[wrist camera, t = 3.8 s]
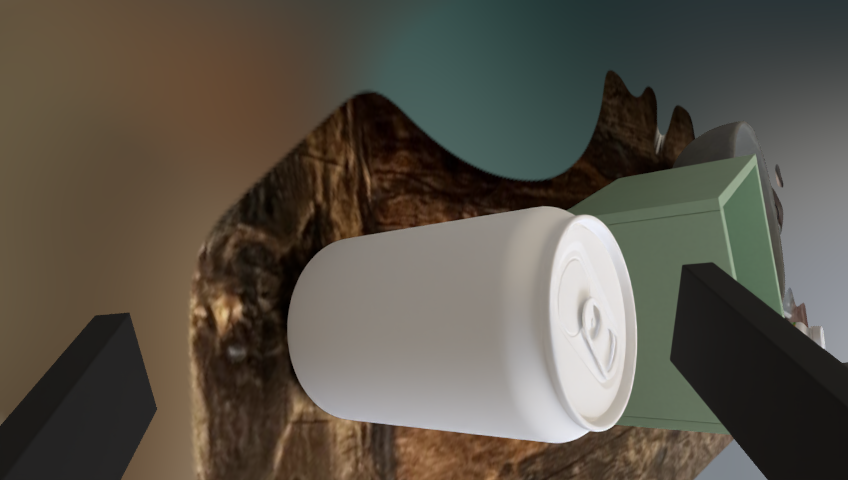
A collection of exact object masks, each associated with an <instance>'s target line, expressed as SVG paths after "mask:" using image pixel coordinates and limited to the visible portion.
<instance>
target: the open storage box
mask: <svg viewBox="0 0 848 480" xmlns="http://www.w3.org/2000/svg"><path fill="white" fill-rule="evenodd" d="M567 212H570V213H571V214H573V215H575V216H577V215H591V216H594V217H596V218H597V219H599V220H600V221H601V222H603V223H604V224H605V226H606V227H607V228H608V229H609V230H610V232H611V233H612V235H613V236H614V238H615V240H616V242H617V244H618V246H619V248H620V250H621V253H622V255H623V258H624V260H625V263H626V267H627V270H628V273H629V277H630V281H631V286H632V291H633V296H634V303H635V311H636V322H637V358H636V368H635V375H634V381H633V386H632V390H631V394H630V397H629V400H628V403H627V405H626V408H625V410H624V412H623V414H622V415H621V417H620V418H619V420H618V421H617V422H616V423H615V425H626V426H638V427H650V428H661V429H673V430H684V431H696V432H707V433H719V434H730V433H729V432H728V431H727V429H726V428H725V427H724V426H723V424H722V423H721V422H720V421H719V420H718V418H717V417H716V416H715V415H714V413H713V412H712V411H711V410H710V409H709V407H708V406H707V405H706V404H705V403H704V401H703V400H702V399H701V398H700V396H699V395H698V394H697V393H696V392H695V390H694V389H693V388H692V387H691V385H690V384H689V383H688V382H687V381H686V379H685V378H684V377H683V376H682V374H681V373H680V372H679V371H678V370H677V368H676V367H675V366H674V365H673V363H672V362H671V361H670V354H671V346H672V339H673V331H674V324H675V316H676V308H677V301H678V293H679V286H680V278H681V270H682V265H685V264H697V263H708V262H713V263H715V264H716V265H717V266H718V267H720V268H721V269H722V270H723V271H725V272H726V273H727V274H729V275H730V276H731V277H732V278H734V279H735V280H736V281H738V282H739V283H740V284H741V285H743V286H744V287H745V288H747V289H748V290H749V291H750V292H752V293H753V294H754V295H755V296H757V297H758V298H759V299H761V300H762V301H763V302H764V303H766V304H767V305H768V306H770V307H771V308H772V309H773V310H775V311H776V312H777V313H779V314H780V315H781V316H782V317H784V311H783V306H782V300H781V294H780V289H779V283H778V277H777V272H776V266H775V260H774V255H773V249H772V243H771V238H770V232H769V226H768V221H767V215H766V209H765V204H764V198H763V192H762V187H761V181H760V175H759V170H758V164H757V158H756V154H752V155H746V156H740V157H735V158H729V159H724V160H718V161H713V162H707V163H702V164H696V165H690V166H685V167H679V168H674V169H668V170H663V171H657V172H652V173H646V174H640V175H635V176H629V177H624V178H619V179H617V180H615V181H614V182H612V183H610V184H609V185H607V186H606V187H604V188H602V189H601V190H599V191H597V192H596V193H594V194H593V195H591V196H589V197H588V198H586V199H584V200H583V201H581V202H580V203H578V204H576V205H575V206H573V207H571V208H570V209H568V210H567ZM784 318H785V317H784ZM730 435H731V434H730Z"/></svg>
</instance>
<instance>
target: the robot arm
mask: <svg viewBox="0 0 848 480" xmlns="http://www.w3.org/2000/svg"><path fill="white" fill-rule="evenodd" d="M670 361H671V362H672V363H673V365H674V366H675V367H676V368H677V370H678V371H679V372H680V373H681V374H682V376H683V377H684V378H685V379H686V381H687V382H688V383H689V384H690V385H691V387H692V388H693V389H694V390H695V392H696V393H697V394H698V395H699V396H700V398H701V399H702V400H703V401H704V403H705V404H706V405H707V406H708V407H709V409H710V410H711V411H712V412H713V413H714V415H715V416H716V417H717V418H718V420H719V421H720V422H721V423H722V424H723V426H724V427H725V428H726V429H727V431H728V432H729V433H730V434H731V435H732V437H733V438H734V439H735V440H736V442H737V443H738V444H739V445H740V446H741V448H742V449H743V450H744V451H745V453H746V454H747V455H748V456H749V457H750V459H751V460H752V461H753V462H754V464H755V465H756V466H757V467H758V468H759V470H760V471H761V472H762V473H763V474H764V476H765V477H766V478H767V479H768V480H848V363H841V362H840V361H839V360H837V359H836V358H835V357H834V356H832V355H831V354H830V353H828V352H827V351H826V350H825V349H823V348H822V347H821V346H819V345H818V344H817V343H816V342H814V341H813V340H812V339H811V338H809V337H808V336H807V335H805V334H804V333H803V332H802V331H800V330H799V329H798V328H796V327H795V326H794V325H793V324H791V323H790V322H789V321H787V320H786V319H785V318H784V317H782V316H781V315H780V314H779V313H777V312H776V311H775V310H773V309H772V308H771V307H770V306H768V305H767V304H766V303H764V302H763V301H762V300H761V299H759V298H758V297H757V296H755V295H754V294H753V293H752V292H750V291H749V290H748V289H747V288H745V287H744V286H743V285H741V284H740V283H739V282H738V281H736V280H735V279H734V278H732V277H731V276H730V275H729V274H727V273H726V272H725V271H723V270H722V269H721V268H720V267H718V266H717V265H716V264H715V263H713V262H708V263H697V264H685V265H682V270H681V278H680V286H679V293H678V301H677V308H676V316H675V324H674V331H673V339H672V346H671V354H670ZM156 410H157V407H156V404H155V401H154V397H153V393H152V390H151V386H150V383H149V379H148V376H147V373H146V369H145V366H144V362H143V359H142V355H141V352H140V348H139V345H138V341H137V338H136V334H135V331H134V327H133V324H132V320H131V317H130V313H121V314H109V315H97V316H95V317H94V318H93V319H92V320H91V321H90V322H89V323H88V325H87V326H86V327H85V328H84V329H83V330H82V332H81V333H80V334H79V335H78V336H77V338H76V339H75V340H74V341H73V342H72V343H71V344H70V346H69V347H68V348H67V349H66V350H65V351H64V353H63V354H62V355H61V356H60V357H59V358H58V359H57V361H56V362H55V363H54V364H53V365H52V366H51V368H50V369H49V370H48V371H47V372H46V373H45V375H44V376H43V377H42V378H41V379H40V380H39V382H38V383H37V384H36V385H35V386H34V387H33V389H32V390H31V391H30V392H29V393H28V394H27V396H26V397H25V398H24V399H23V400H22V401H21V402H20V404H19V405H18V406H17V407H16V408H15V410H14V411H13V412H12V413H11V414H10V415H9V416H8V418H7V419H6V420H5V421H4V422H3V423H2V424H1V426H0V480H121V478H122V476H123V474H124V472H125V470H126V468H127V466H128V464H129V463H130V460H131V459H132V457H133V455H134V453H135V451H136V449H137V447H138V445H139V443H140V441H141V439H142V437H143V435H144V433H145V432H146V430H147V428H148V426H149V424H150V422H151V420H152V418H153V416H154V414H155V412H156Z"/></svg>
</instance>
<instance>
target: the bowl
mask: <svg viewBox="0 0 848 480" xmlns="http://www.w3.org/2000/svg"><path fill="white" fill-rule="evenodd" d="M752 154H756V158H757V164H758V170H759V175H760V181H761V187H762V192H763V198H764V204H765V209H766V215H767V221H768V226H769V232H770V238H771V243H772V249H773V255H774V260H775V266H776V272H777V277H778V283H779V289H780V294H781V300H782V303H783V298H784V293H785V272H784V263H783V253H782V246H781V239H780V232H779V226H778V219H777V214H776V208H775V203H774V197H773V192H772V187H771V183H770V180H769V175H768V171H767V167H766V163H765V159H764V156H763V153H762V150H761V147H760V144H759V141H758V138H757V136H756V134H755V132H754V130H753V129H752V127H751V126H750V125H749V124H748V123H746V122H744V121H742V122H734V123H729V124H726V125H722V126H719V127H717V128H714V129H712V130H709V131H707V132H706V133H704V134H702V135H701V136H699V137H698V138H696V139H695V140H693V141H692V142H691V143H690V144H689V145H688V146H687V147H686V148H685V149H684V150H683V151H682V153H681V154H680V155H679V156H678V158H677V159H676V161H675V163H674V165H673V167H672V169H674V168H679V167H685V166H690V165H696V164H702V163H707V162H713V161H718V160H724V159H729V158H735V157H740V156H746V155H752Z"/></svg>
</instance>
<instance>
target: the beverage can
mask: <svg viewBox="0 0 848 480" xmlns="http://www.w3.org/2000/svg"><path fill="white" fill-rule="evenodd" d="M287 337H288V347H289V353H290V357H291V361H292V365H293V368H294V371H295V373H296V376H297V378H298V380H299V382H300V384H301V386H302V387H303V389H304V390H305V392H306V393H307V395H308V396H309V397H310V398H311V400H312V401H313V402H314V403H315V404H316V405H317V406H319V407H320V408H321V409H322V410H324V411H325V412H327V413H329V414H331V415H333V416H335V417H338V418H342V419H347V420H355V421H364V422H373V423H382V424H390V425H399V426H408V427H417V428H426V429H435V430H443V431H452V432H461V433H470V434H479V435H487V436H496V437H505V438H514V439H523V440H532V441H540V442H550V443H564V442H569V441H572V440H575V439H577V438H579V437H581V436H583V435H584V434H586V433H587V432H589V431H596V432H600V431H605V430H608V429H609V428H611V427H612V426H613V425H614V424H615V423H616V422H617V421H618V420H619V418H620V417H621V415H622V414H623V412H624V410H625V408H626V405H627V403H628V400H629V397H630V394H631V390H632V386H633V381H634V375H635V368H636V358H637V322H636V311H635V303H634V296H633V291H632V286H631V281H630V277H629V273H628V270H627V267H626V263H625V260H624V258H623V255H622V253H621V250H620V248H619V246H618V244H617V242H616V240H615V238H614V236H613V235H612V233H611V232H610V230H609V229H608V228H607V227H606V226H605V224H604V223H603V222H601V221H600V220H599V219H597V218H596V217H594V216H591V215H577V216H575V215H573V214H571V213H570V212H567V211H565V210H563V209H559V208H556V207H548V206H543V207H535V208H529V209H523V210H517V211H511V212H505V213H499V214H493V215H487V216H481V217H474V218H468V219H462V220H456V221H450V222H444V223H438V224H432V225H426V226H420V227H414V228H408V229H402V230H395V231H389V232H383V233H377V234H371V235H365V236H359V237H353V238H347V239H342V240H339V241H336V242H333V243H331V244H329V245H328V246H326V247H324V248H323V249H322V250H320V251H319V252H318V253H317V254H316V255H315V256H314V257H313V258H312V259H311V260H310V261H309V263H308V264H307V265H306V267H305V268H304V270H303V272H302V273H301V275H300V277H299V279H298V281H297V283H296V286H295V288H294V291H293V294H292V298H291V301H290V306H289V312H288V322H287Z"/></svg>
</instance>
